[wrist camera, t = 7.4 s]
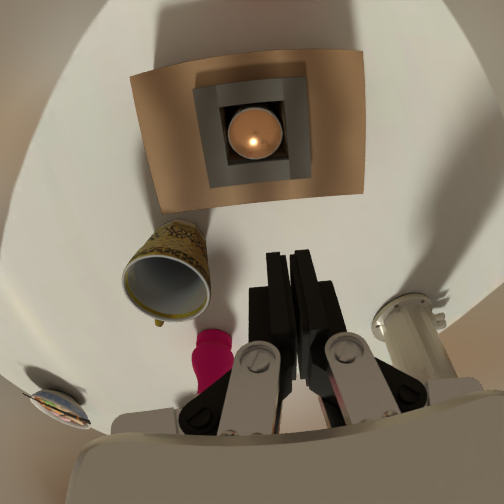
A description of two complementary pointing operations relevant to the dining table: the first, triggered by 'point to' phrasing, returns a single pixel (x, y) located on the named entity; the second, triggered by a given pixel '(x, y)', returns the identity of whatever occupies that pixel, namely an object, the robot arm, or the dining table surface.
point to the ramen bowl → (61, 408)
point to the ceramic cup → (170, 274)
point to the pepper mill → (211, 357)
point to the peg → (254, 130)
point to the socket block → (217, 124)
